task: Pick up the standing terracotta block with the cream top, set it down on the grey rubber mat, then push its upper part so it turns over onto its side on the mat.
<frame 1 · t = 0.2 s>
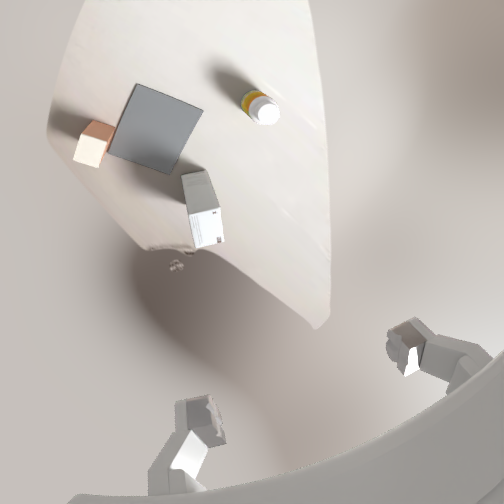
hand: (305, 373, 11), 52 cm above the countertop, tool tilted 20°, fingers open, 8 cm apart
block: (99, 135, 47), on the countertop
mat: (153, 130, 50), on the countertop
skincare box: (197, 188, 62), on the countertop
supplement bottle: (253, 102, 52), on the countertop
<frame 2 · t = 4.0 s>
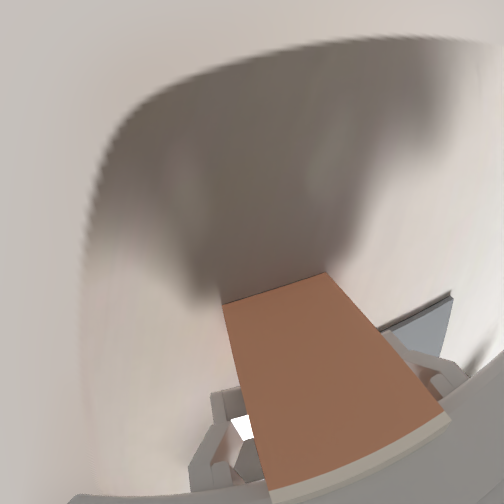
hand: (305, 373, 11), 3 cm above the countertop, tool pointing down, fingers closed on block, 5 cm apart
block: (284, 329, 14), on the countertop, touching gripper
mat: (359, 401, 19), on the countertop
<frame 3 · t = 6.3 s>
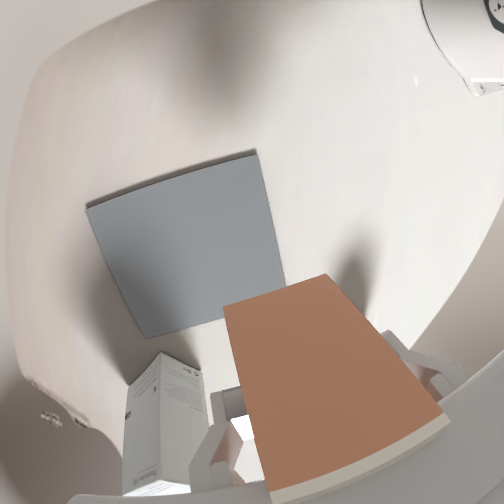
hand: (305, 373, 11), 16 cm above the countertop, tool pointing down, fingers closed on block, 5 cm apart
block: (284, 330, 14), point 13 cm above the countertop, touching gripper
mat: (191, 255, 25), on the countertop
skincare box: (164, 380, 31), on the countertop
when the fingers open (5 cm above the countertop, at t = 8.6 s): block drops 1 cm, resting on mat.
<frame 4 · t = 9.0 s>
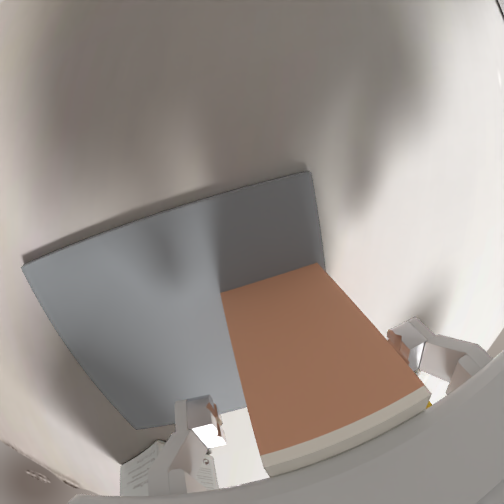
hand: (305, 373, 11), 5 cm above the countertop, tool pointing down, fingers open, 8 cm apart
block: (278, 316, 15), resting on mat
mat: (195, 337, 15), on the countertop
skincare box: (164, 461, 21), on the countertop
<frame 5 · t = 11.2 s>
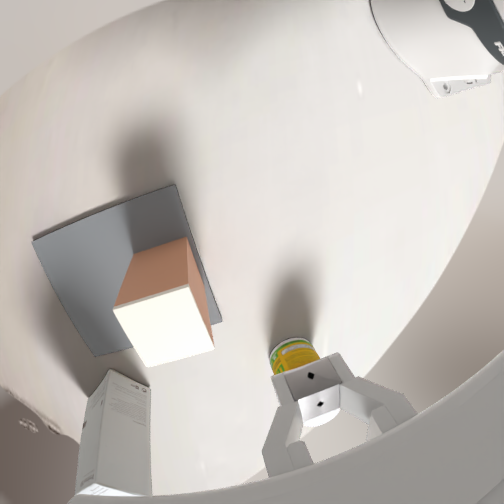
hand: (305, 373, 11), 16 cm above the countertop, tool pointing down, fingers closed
block: (169, 270, 25), resting on mat
mat: (124, 282, 25), on the countertop
skincare box: (118, 394, 30), on the countertop
supplement bottle: (290, 352, 33), on the countertop
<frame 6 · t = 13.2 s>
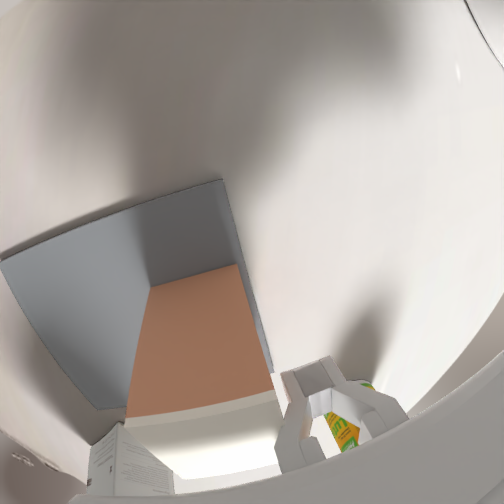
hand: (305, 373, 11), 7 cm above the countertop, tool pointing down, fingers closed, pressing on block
block: (206, 311, 17), resting on mat, touching gripper
mat: (136, 326, 17), on the countertop
skincare box: (128, 444, 22), on the countertop
supplement bottle: (345, 395, 24), on the countertop
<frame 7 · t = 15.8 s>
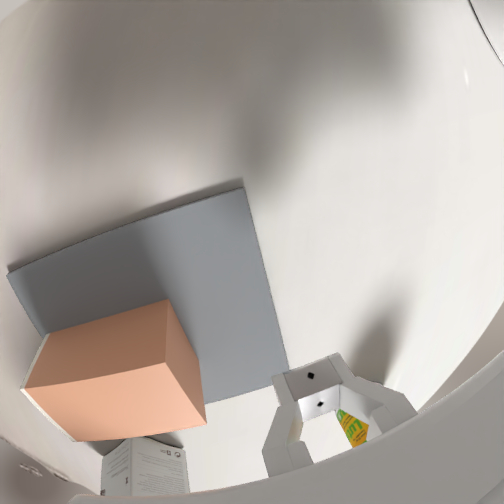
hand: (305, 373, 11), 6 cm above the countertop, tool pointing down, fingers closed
block: (185, 361, 14), point 3 cm above the countertop, tilted 90°, touching mat
mat: (153, 337, 16), on the countertop
skincare box: (141, 453, 22), on the countertop
supplement bottle: (358, 398, 24), on the countertop
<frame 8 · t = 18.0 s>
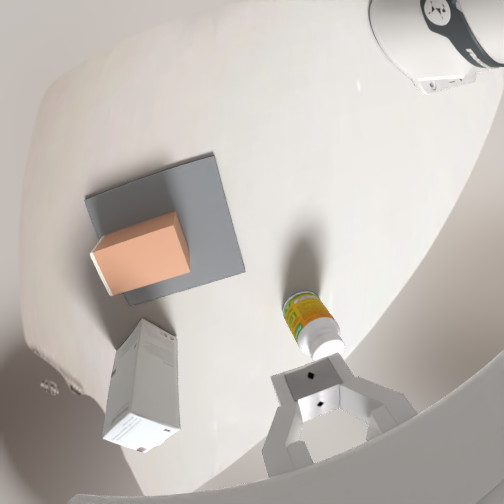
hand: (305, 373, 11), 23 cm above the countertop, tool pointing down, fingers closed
block: (182, 240, 29), point 3 cm above the countertop, tilted 90°, touching mat
mat: (165, 236, 31), on the countertop
skincare box: (146, 345, 37), on the countertop
supplement bottle: (300, 306, 39), on the countertop
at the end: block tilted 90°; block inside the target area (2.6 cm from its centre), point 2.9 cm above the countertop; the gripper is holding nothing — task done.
